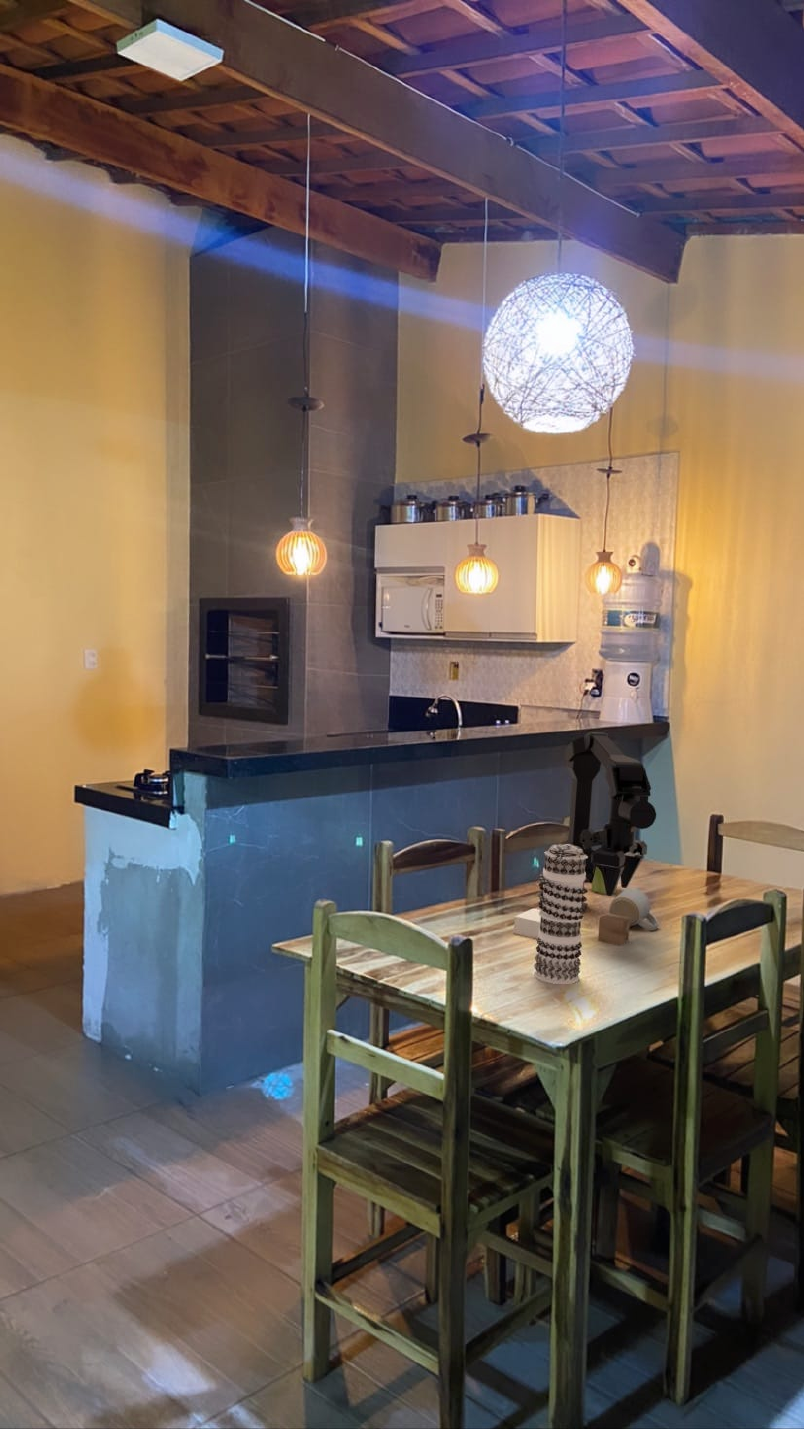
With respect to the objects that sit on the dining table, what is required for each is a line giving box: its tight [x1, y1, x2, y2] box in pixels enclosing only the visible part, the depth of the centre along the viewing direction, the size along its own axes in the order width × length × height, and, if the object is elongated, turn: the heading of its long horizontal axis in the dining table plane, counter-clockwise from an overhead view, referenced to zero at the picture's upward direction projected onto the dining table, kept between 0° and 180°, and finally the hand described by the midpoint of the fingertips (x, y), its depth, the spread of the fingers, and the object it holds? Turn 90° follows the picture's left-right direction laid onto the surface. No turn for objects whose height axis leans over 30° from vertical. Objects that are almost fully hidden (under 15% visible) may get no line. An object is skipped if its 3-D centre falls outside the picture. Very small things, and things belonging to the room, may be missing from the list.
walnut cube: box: [597, 912, 630, 946], centre depth 219 cm, size 5×5×5 cm
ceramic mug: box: [608, 887, 659, 931], centre depth 231 cm, size 11×8×8 cm
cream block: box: [513, 908, 541, 939], centre depth 221 cm, size 9×9×4 cm
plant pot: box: [591, 866, 619, 895], centre depth 262 cm, size 9×9×9 cm
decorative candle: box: [533, 843, 589, 986], centre depth 192 cm, size 9×9×25 cm
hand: (616, 891), depth 218 cm, fingers open, 9 cm apart
